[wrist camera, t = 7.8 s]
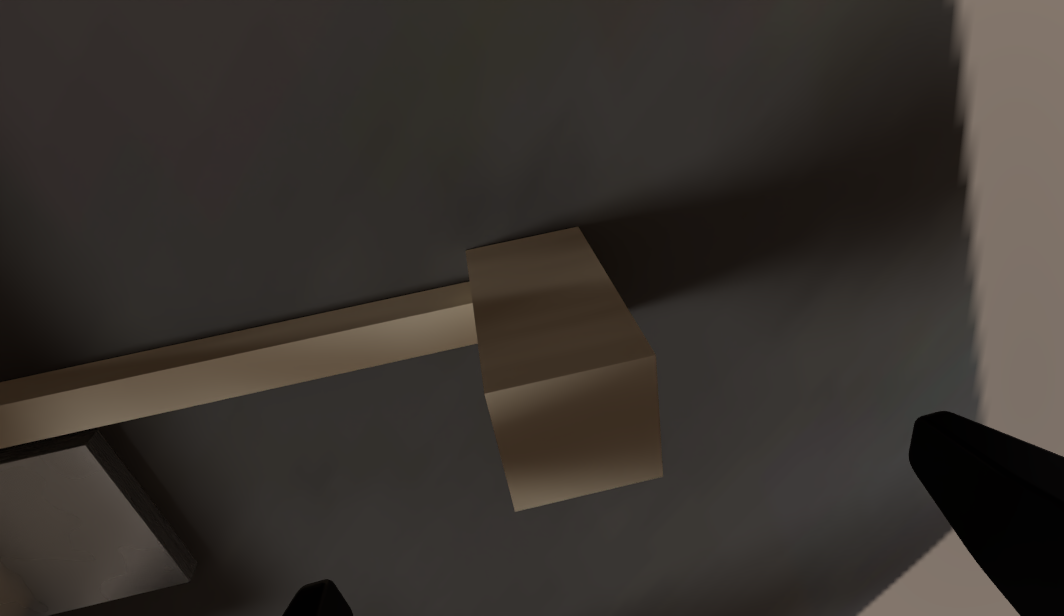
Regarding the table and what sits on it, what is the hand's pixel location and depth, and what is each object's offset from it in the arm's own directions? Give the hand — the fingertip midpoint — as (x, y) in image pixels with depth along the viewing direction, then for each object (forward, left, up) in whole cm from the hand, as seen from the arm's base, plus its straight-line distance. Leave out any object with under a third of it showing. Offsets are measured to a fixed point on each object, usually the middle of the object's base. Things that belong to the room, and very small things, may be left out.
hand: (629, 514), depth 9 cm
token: (-4, +16, -9) cm, 19 cm away
